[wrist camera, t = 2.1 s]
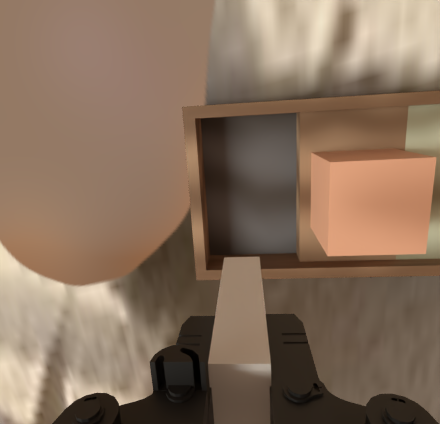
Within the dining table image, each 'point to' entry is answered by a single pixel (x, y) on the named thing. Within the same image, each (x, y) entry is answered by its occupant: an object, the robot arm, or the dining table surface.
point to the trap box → (296, 179)
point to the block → (371, 201)
